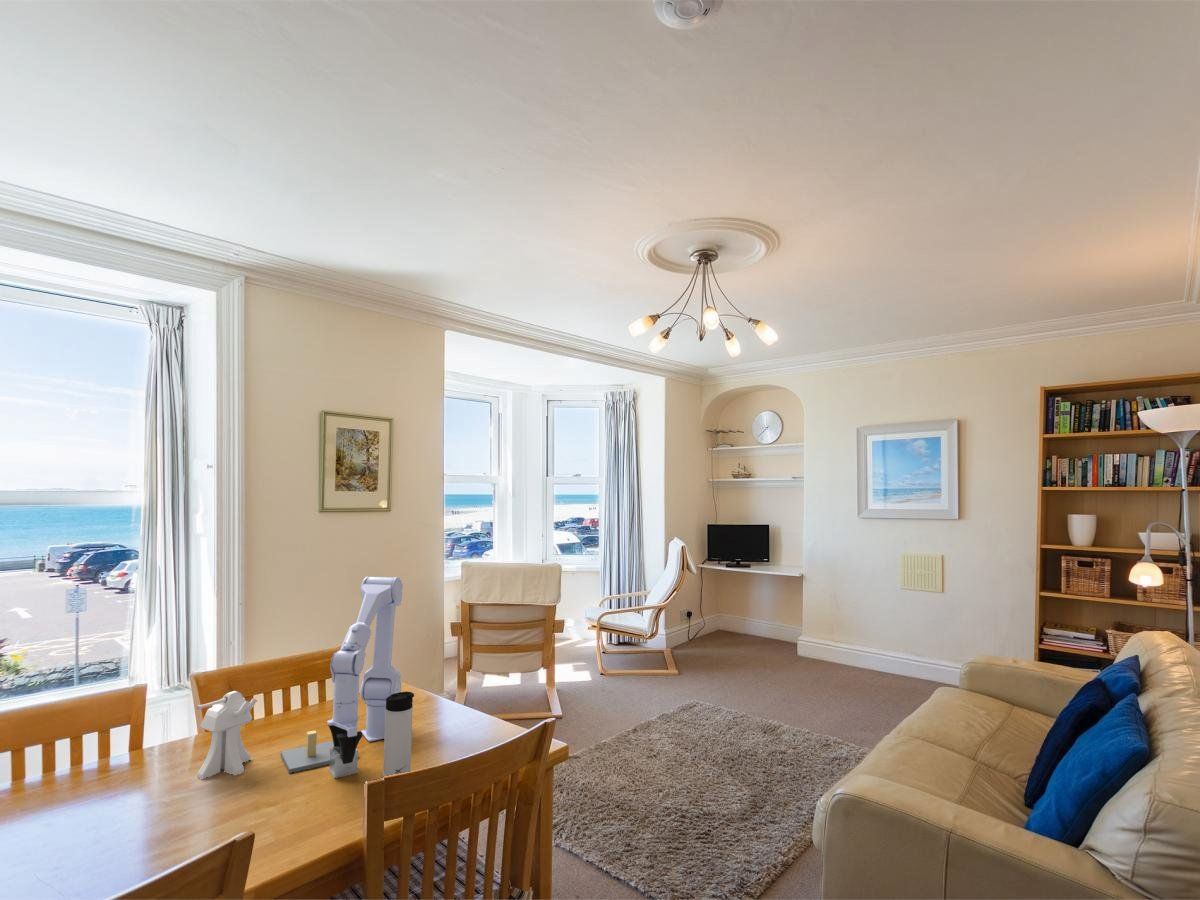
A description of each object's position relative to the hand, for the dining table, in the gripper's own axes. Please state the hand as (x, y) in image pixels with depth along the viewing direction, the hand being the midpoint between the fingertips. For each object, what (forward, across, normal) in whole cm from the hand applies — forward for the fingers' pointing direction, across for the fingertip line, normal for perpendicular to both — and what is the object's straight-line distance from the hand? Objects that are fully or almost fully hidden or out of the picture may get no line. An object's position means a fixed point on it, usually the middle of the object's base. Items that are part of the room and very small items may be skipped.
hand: (343, 756), depth 156 cm
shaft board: (+4, -12, -3) cm, 13 cm away
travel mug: (+4, +10, +10) cm, 15 cm away
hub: (+4, 0, 0) cm, 4 cm away
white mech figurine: (+4, -17, -24) cm, 30 cm away
